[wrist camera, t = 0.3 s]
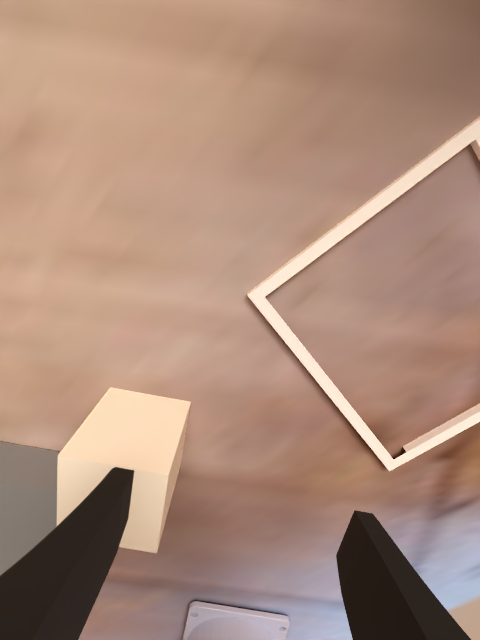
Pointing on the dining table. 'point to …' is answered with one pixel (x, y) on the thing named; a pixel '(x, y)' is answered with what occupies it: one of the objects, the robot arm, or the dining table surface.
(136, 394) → the cream block
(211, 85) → the dining table surface
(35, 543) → the base plinth
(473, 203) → the dining table surface
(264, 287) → the photo frame
